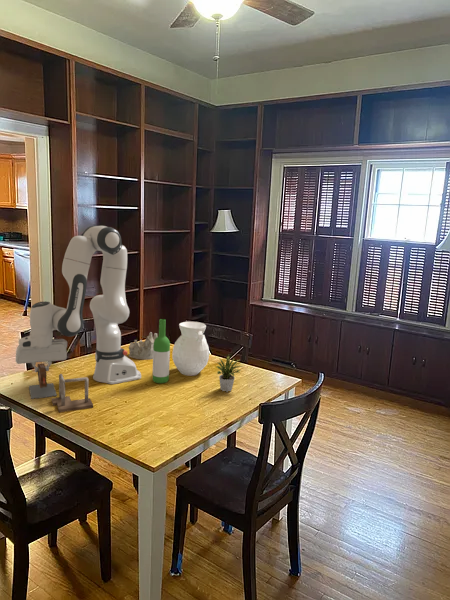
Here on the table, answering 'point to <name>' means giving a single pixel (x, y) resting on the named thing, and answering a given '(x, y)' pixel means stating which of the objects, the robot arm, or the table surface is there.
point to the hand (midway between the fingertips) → (41, 371)
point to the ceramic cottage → (143, 348)
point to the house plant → (227, 374)
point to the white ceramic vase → (191, 348)
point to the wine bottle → (161, 355)
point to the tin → (42, 375)
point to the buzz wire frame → (65, 402)
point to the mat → (42, 391)
